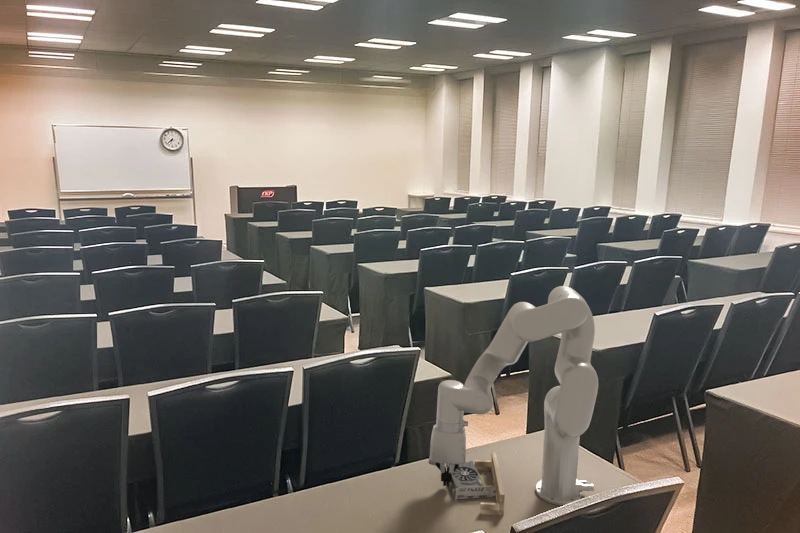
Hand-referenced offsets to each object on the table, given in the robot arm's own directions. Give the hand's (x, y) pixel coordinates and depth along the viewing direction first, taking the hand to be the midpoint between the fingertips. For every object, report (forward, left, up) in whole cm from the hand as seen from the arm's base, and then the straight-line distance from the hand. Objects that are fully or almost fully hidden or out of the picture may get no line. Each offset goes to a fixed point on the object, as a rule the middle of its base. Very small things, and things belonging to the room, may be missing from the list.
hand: (445, 483), depth 163 cm
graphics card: (-7, -3, -2) cm, 8 cm away
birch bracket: (-12, 0, -2) cm, 12 cm away
